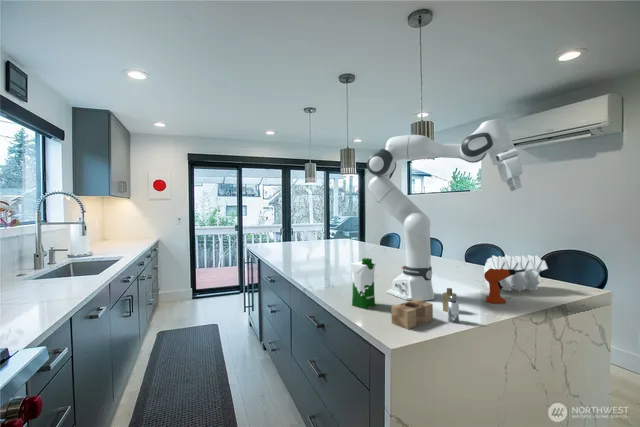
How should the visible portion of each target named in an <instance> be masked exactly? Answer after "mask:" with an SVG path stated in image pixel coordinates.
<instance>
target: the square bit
mask: <svg viewBox="0 0 640 427" xmlns="http://www.w3.org/2000/svg"><path fill="white" fill-rule="evenodd" d="M450 296H456V297H457V293H454V292H453V288H451V287H447V288H446V292H443V293H442V311H443V312H446V313H448V301H450Z"/></svg>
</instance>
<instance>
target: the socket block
mask: <svg viewBox="0 0 640 427" xmlns="http://www.w3.org/2000/svg"><path fill="white" fill-rule="evenodd" d="M433 306H434V305H433V303H430V302H427V301H420V300H417V299H416V300H408V301H406V302H402V303H398V304H396V305H395V304H394V305H391V307H390V308H391V312H390V313H391V324H393V325H394V326H397V327H400V328H403V329H405V330H410V329H412V328H416V327H418V326H421V325H424V324H426V323H429V322H432V321H433V320H434V319H433V318H434V317H433V316H434V314H433V313H434V308H433Z"/></svg>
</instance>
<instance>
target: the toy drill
mask: <svg viewBox="0 0 640 427" xmlns="http://www.w3.org/2000/svg"><path fill="white" fill-rule="evenodd" d="M523 271H525V269H522V270H513V269H508V270H507V269H502V268H501V269H492V268H491V269H489V270H488V271H486V272H485V274H484V275H483V279H484V278H485V279H486V280H487V281H488V282H489V287H490V288H489V293H488V296H486V298H485V301H486V303H488V304H505V303H506V302H507V301H506V299H505V298H504V297H502V296H501V290H503V289H502V288H503V287H502V286H501V284H500V282H499V281H501V280H503V279H505V278H507V277H509V276H511V275H515V274H516V273H518V272H523Z"/></svg>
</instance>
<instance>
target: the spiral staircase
mask: <svg viewBox="0 0 640 427" xmlns="http://www.w3.org/2000/svg"><path fill="white" fill-rule="evenodd" d="M491 268H492V269H501V268H502V269H507V270H508V269H513V270H522V269H525V271H523V272H518V273H516V274H515V275H511V276H509V277H507V278H505V279H503V280H501V281H499V282H500V284H501V286H502V287H503V288H502V289H501V290H503V291H504V292H507V291H512V289H513V290H516V291H517V292H520V293H521V291H522V290H523V291H524V290H526V289H527V290H529V291H530V292H532V291H533V290H538V287H537V286H538V285H539V284H541V282H540V281H539V275H540V272H543V271H546V270H548V269H549V267H548V265H547V262H546V260H542V259H541V258H540V257H539V256H538V255H537V254H535V256H534V255H530V254H527V256H525V255H524V254H522V255H520V256H519V255H515V256H514V255H512V256H509V255H508V254H504V256H501V255H499V256H496V255H494V254H493V255H491V257H489V258H487V259H486V261H485V265H484V268H483V269H484V270H483V271H484V273H483V276H484V274H485V272H486V271H488V270H489V269H491ZM483 279H484V280H483V281H485V282H484V283H485V285H486V286H487V288H488V289H490V287H489V282H488V281H487V280H486V279H485V278H484V277H483Z"/></svg>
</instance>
